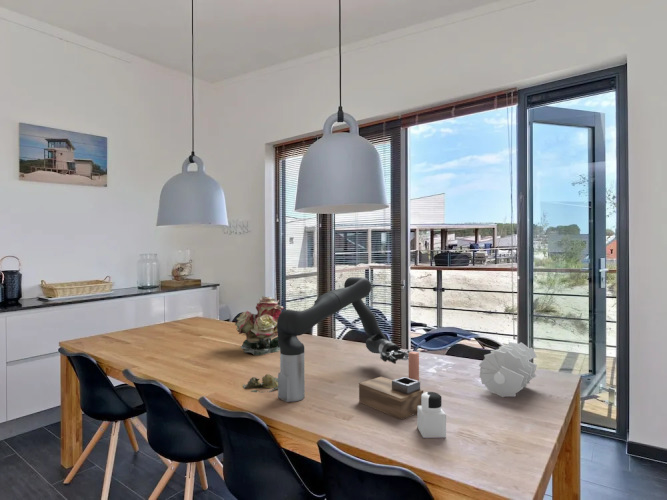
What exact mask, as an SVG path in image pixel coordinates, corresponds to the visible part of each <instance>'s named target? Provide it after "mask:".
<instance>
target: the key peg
mask: <svg viewBox="0 0 667 500" xmlns="http://www.w3.org/2000/svg"><path fill="white" fill-rule="evenodd" d="M408 358H409V360H408V378H411V379H414V380H417V381H420V353H419V352H418V351H412V352H409V357H408Z"/></svg>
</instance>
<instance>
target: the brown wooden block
mask: <svg viewBox="0 0 667 500" xmlns="http://www.w3.org/2000/svg"><path fill="white" fill-rule="evenodd" d="M423 393H424V389H421V381H420V380H419V381H417V380H414V379H411V378H409V376H408V377H407V376H402V377H399V378H396V379H390V378H387V377H384V376H378V377H375V378H372V379H369V380H365V381H361V382H360V383H358V395H359V396H358V401H359V402H358V403H361V404H363V405H365V406H367V407H369V408H372V409H375V410H377V411H378V412H379V411H380V412H381V413H384V414H386V415H388V416H391V417H393V418H395V419H398V420H400V421H402V420H404V419H406V418H409V417H411V416H414V415H416V414H417V406H421V395H422V394H423ZM413 414H414V415H413Z"/></svg>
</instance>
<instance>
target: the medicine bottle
mask: <svg viewBox="0 0 667 500" xmlns="http://www.w3.org/2000/svg"><path fill="white" fill-rule="evenodd" d="M416 414H417V422H416V423H417V429H418V431H419V433H420V435H421V436H422V439H425V438H426V439H430V438H431V439H435V438H436V439H437V438H438V439H439V438H441V439H442V438H447V414H446V412H445V411H444V410H443V408H442V395H441V394H439V393H437V392H434V391H426V392H423V394H422V395H421V406H417V413H416Z"/></svg>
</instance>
